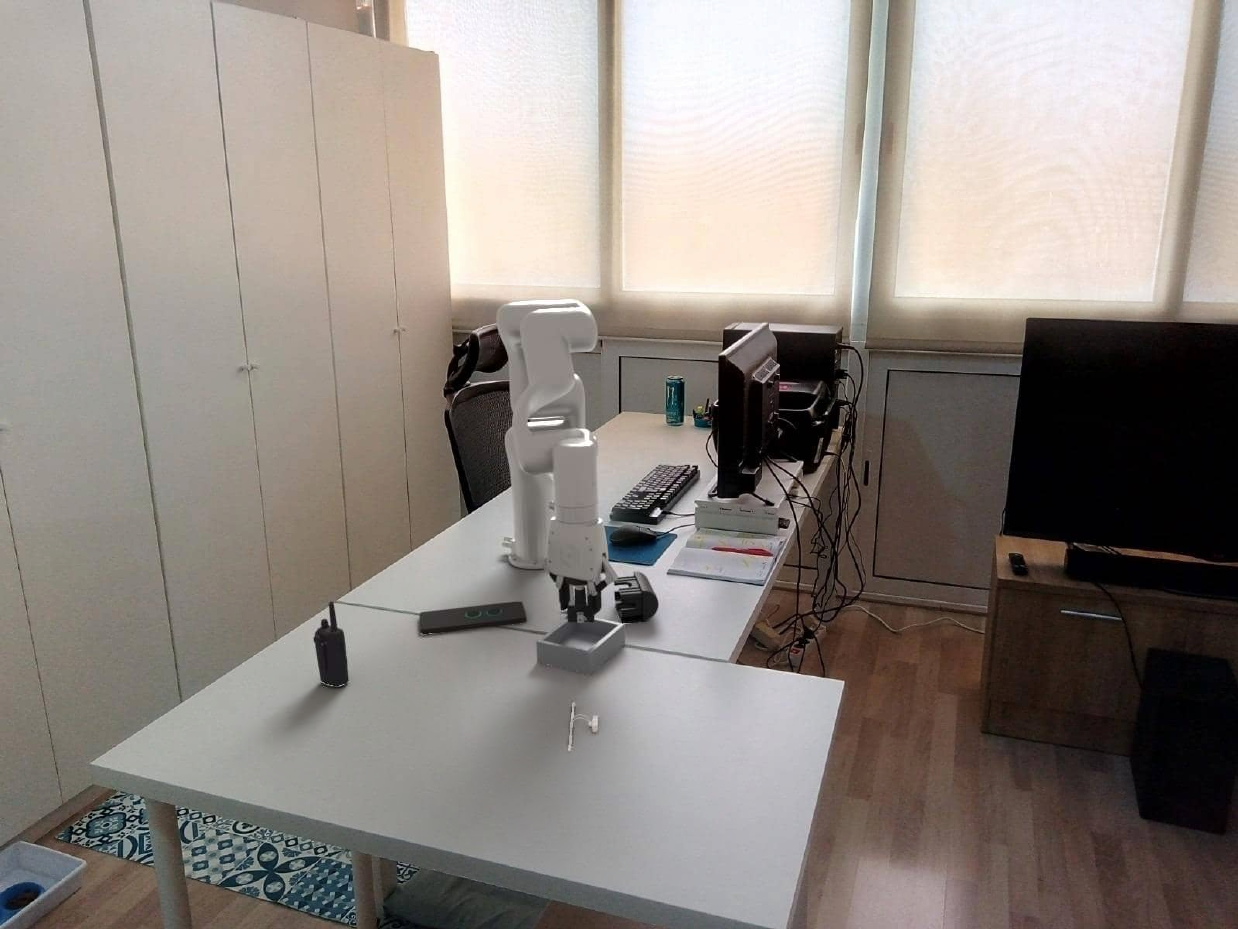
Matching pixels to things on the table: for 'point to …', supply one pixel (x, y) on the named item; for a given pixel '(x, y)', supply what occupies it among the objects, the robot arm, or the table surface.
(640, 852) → the table surface
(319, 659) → the two-way radio
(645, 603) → the end cap
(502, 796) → the table surface
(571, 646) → the rectangular tray
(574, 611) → the push button
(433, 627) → the smart home device
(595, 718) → the picture light
